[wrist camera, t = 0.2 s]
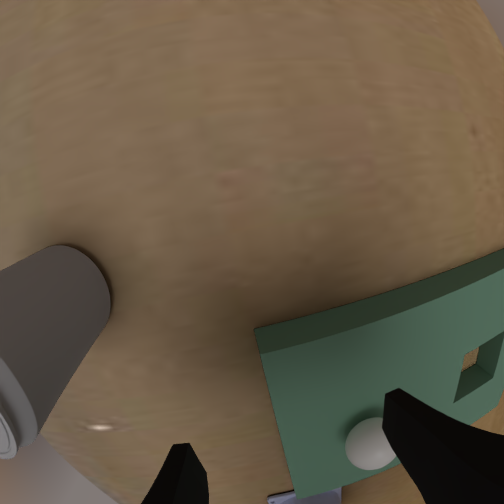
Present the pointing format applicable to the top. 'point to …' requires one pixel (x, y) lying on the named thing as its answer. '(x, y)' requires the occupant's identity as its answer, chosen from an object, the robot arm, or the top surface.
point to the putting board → (383, 365)
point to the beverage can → (44, 335)
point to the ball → (369, 445)
